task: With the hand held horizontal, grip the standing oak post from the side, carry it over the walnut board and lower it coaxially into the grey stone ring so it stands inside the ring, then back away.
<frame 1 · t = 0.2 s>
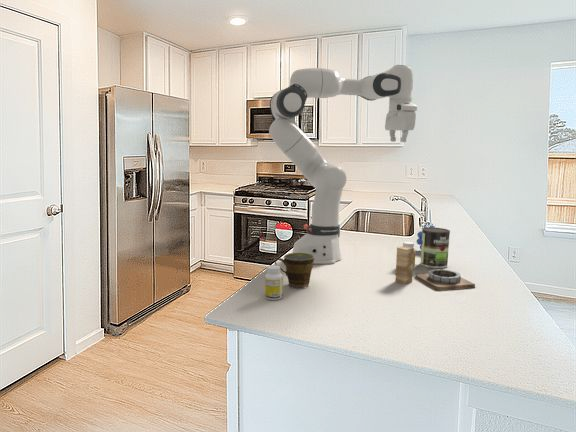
hand: (398, 141, 181), 48 cm above the worktop, tool pointing down, fingers open, 8 cm apart
coffee can: (433, 265, 173), on the worktop
supplement bottle: (273, 298, 135), on the worktop
walnut board: (443, 282, 151), on the worktop
oak post: (403, 281, 152), on the worktop
supplement bottle 2: (407, 267, 169), on the worktop
grey stone ring: (444, 276, 151), on the walnut board, point 2 cm above the worktop
ceramic cup: (294, 286, 147), on the worktop
grapes: (429, 251, 195), on the worktop
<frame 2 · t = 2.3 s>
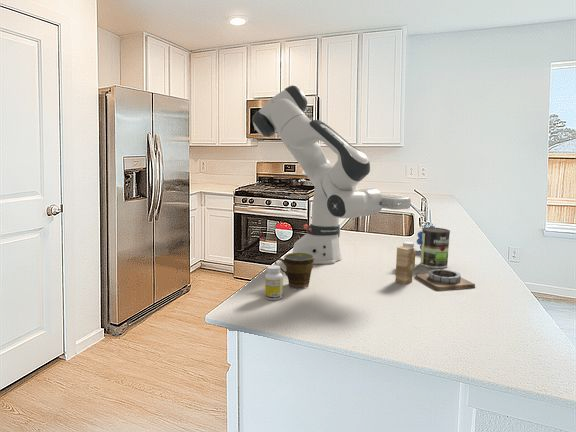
hand: (395, 198, 153), 28 cm above the worktop, tool horizontal, fingers open, 8 cm apart
nothing on the worktop moved.
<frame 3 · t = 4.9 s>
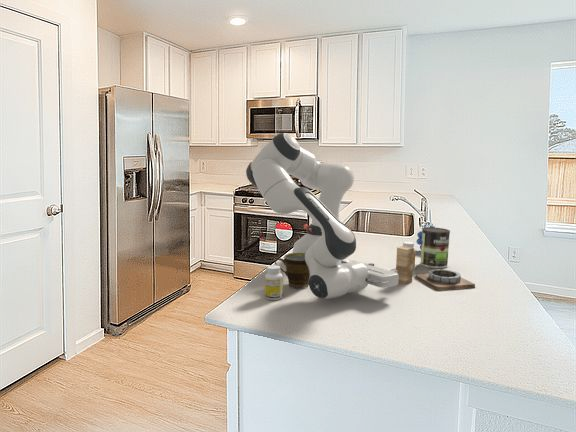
hand: (383, 268, 144), 6 cm above the worktop, tool horizontal, fingers open, 8 cm apart
nothing on the worktop moved.
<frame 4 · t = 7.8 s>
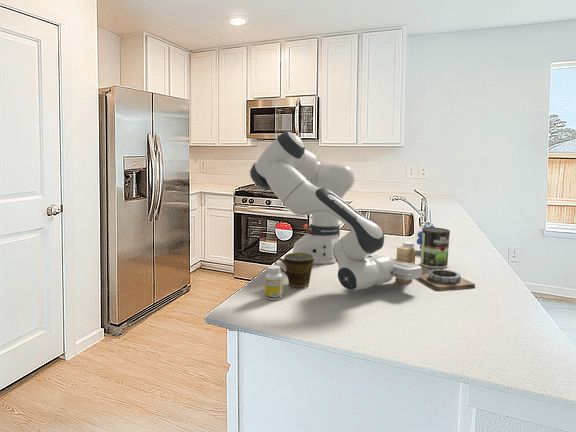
hand: (406, 262, 151), 7 cm above the worktop, tool horizontal, fingers closed on oak post, 4 cm apart
oak post: (403, 281, 152), on the worktop, touching gripper
everything else where it was.
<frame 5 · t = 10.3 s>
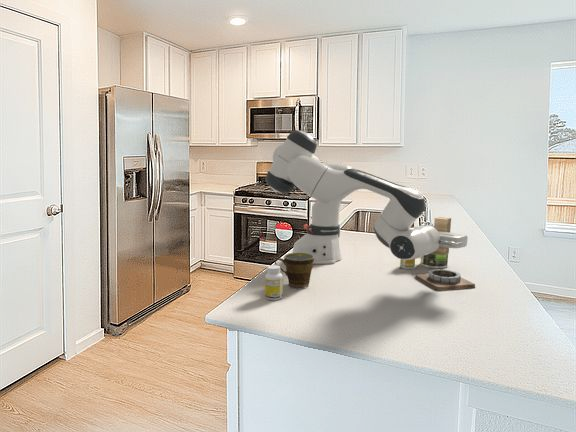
hand: (442, 234, 148), 17 cm above the worktop, tool horizontal, fingers closed on oak post, 4 cm apart
oak post: (440, 253, 148), point 11 cm above the worktop, touching gripper
everything else where it was.
when the fingers open (9 cm above the worktop, at t = 12.8 s): oak post stays where it is, resting on walnut board.
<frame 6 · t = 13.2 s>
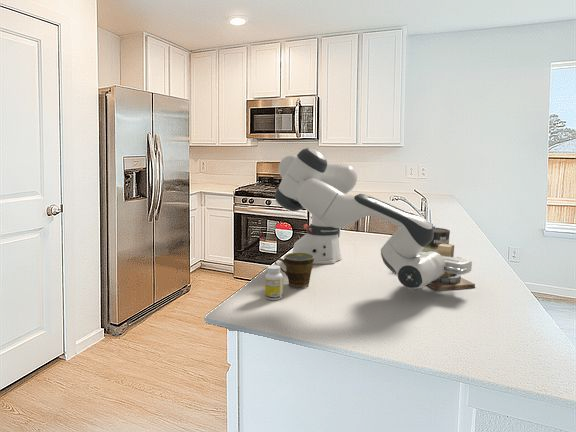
hand: (446, 257, 150), 9 cm above the worktop, tool horizontal, fingers open, 8 cm apart
oak post: (444, 279, 151), point 1 cm above the worktop, touching walnut board
everything else where it was.
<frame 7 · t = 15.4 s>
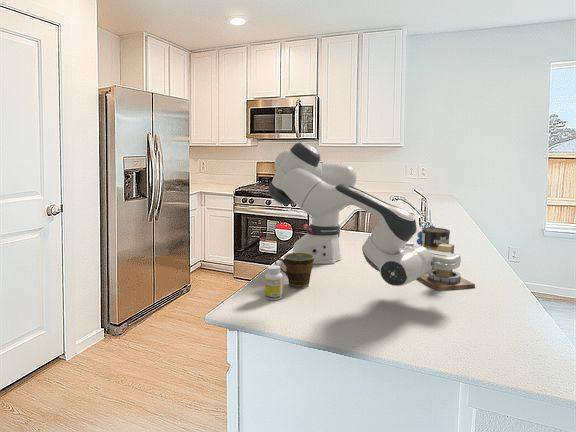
hand: (434, 252, 141), 13 cm above the worktop, tool horizontal, fingers open, 8 cm apart
nothing on the worktop moved.
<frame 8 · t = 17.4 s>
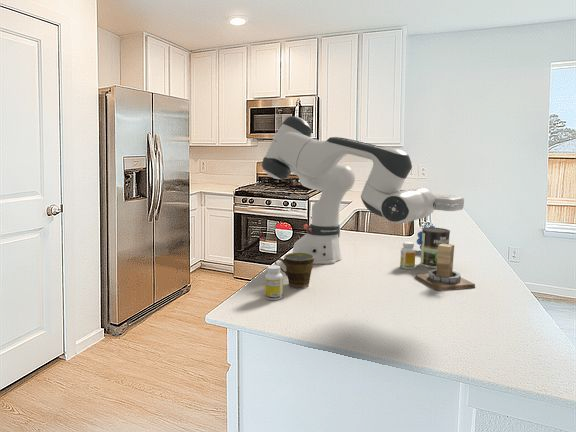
hand: (436, 198, 138), 30 cm above the worktop, tool horizontal, fingers open, 8 cm apart
nothing on the worktop moved.
at the end: oak post 0.1 cm from the grey stone ring (horizontally); oak post tilted 0°; the gripper is holding nothing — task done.
